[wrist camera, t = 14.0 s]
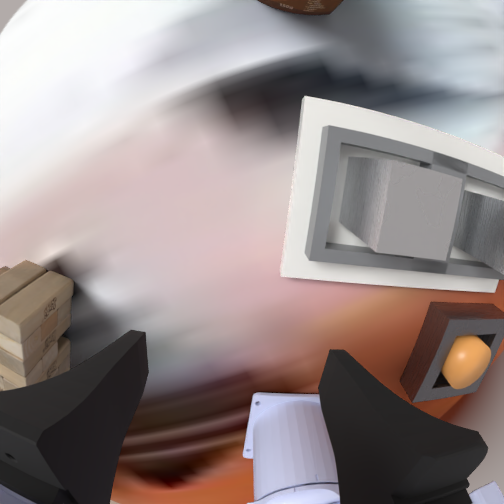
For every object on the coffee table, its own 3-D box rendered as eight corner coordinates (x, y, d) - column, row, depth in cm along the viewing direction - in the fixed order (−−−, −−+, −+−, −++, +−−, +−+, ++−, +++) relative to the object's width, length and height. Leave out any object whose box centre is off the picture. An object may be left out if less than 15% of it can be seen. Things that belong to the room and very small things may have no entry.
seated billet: (485, 250, 19) (535, 278, 13) (450, 244, 19) (503, 274, 13) (496, 200, 18) (551, 218, 12) (461, 189, 18) (519, 205, 12)
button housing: (461, 374, 24) (475, 392, 21) (399, 381, 24) (412, 402, 21) (492, 303, 22) (511, 318, 19) (430, 301, 21) (449, 319, 19)
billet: (395, 229, 19) (445, 260, 13) (338, 221, 18) (375, 252, 13) (405, 168, 17) (462, 178, 12) (348, 156, 17) (392, 159, 12)
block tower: (12, 245, 21) (33, 442, 28) (-54, 279, 13) (9, 483, 20) (83, 276, 22) (82, 467, 29) (22, 327, 13) (63, 512, 21)
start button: (461, 367, 23) (476, 385, 20) (427, 370, 22) (442, 392, 20) (479, 326, 21) (498, 343, 18) (445, 327, 21) (464, 347, 18)
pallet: (488, 288, 21) (504, 299, 19) (279, 270, 20) (283, 286, 18) (515, 164, 18) (535, 168, 16) (302, 98, 17) (310, 91, 15)
